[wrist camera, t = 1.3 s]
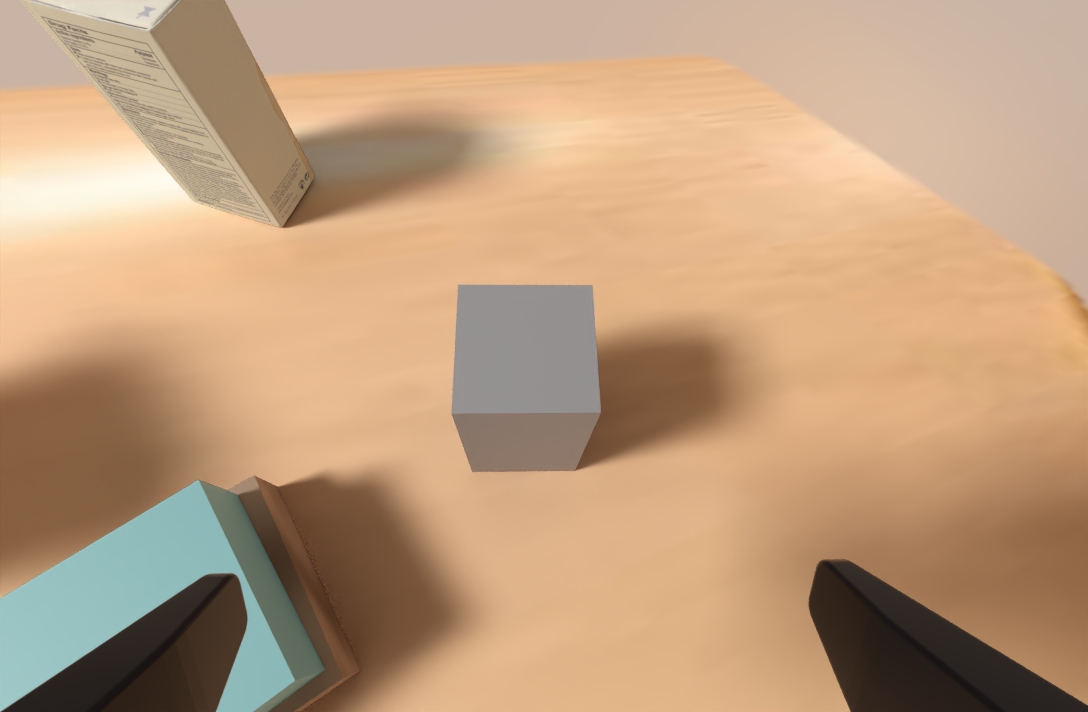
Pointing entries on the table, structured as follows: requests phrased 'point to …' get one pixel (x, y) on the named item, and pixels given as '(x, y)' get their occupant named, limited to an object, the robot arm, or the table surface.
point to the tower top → (159, 599)
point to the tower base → (299, 590)
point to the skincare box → (188, 97)
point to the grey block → (525, 376)
